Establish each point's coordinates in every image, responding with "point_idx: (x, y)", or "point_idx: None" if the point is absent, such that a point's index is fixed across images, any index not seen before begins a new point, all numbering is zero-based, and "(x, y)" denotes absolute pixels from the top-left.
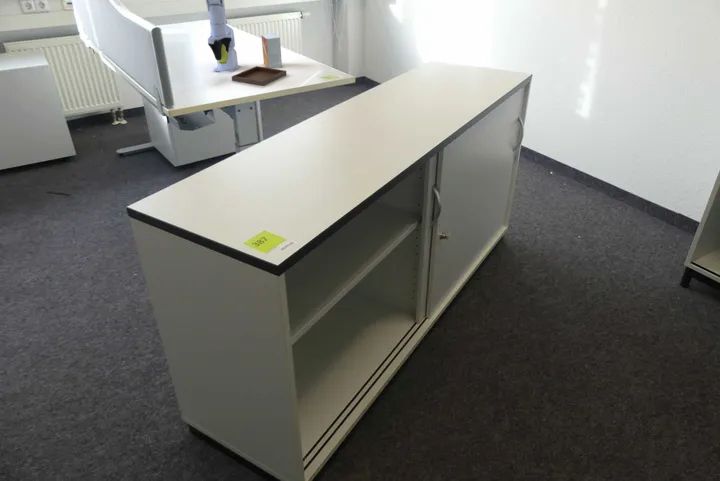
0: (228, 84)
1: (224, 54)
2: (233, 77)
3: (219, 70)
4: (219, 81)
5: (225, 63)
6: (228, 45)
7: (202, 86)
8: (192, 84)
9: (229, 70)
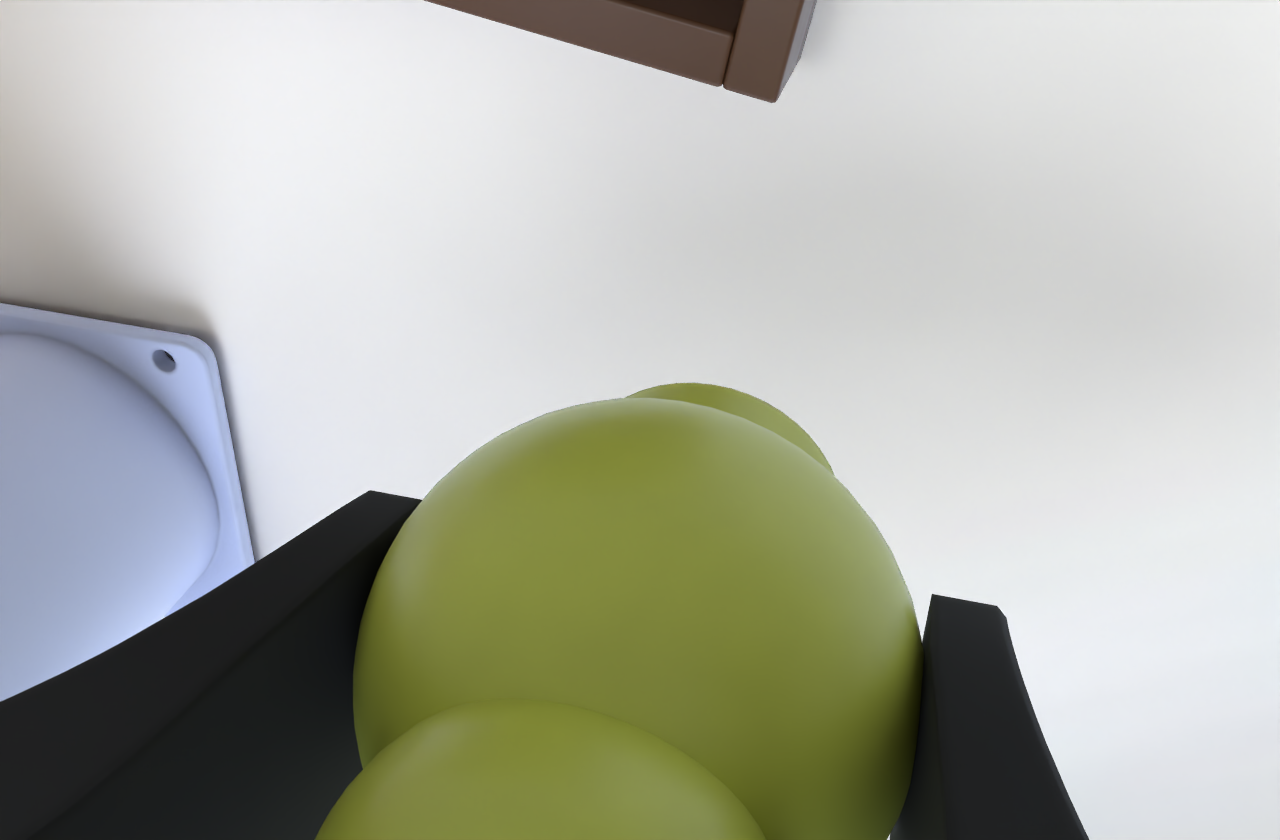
0: (1035, 70)
1: (782, 613)
2: (800, 26)
3: (236, 549)
4: (823, 364)
5: (757, 403)
6: (76, 746)
7: (1254, 592)
8: (1117, 776)
9: (150, 382)
